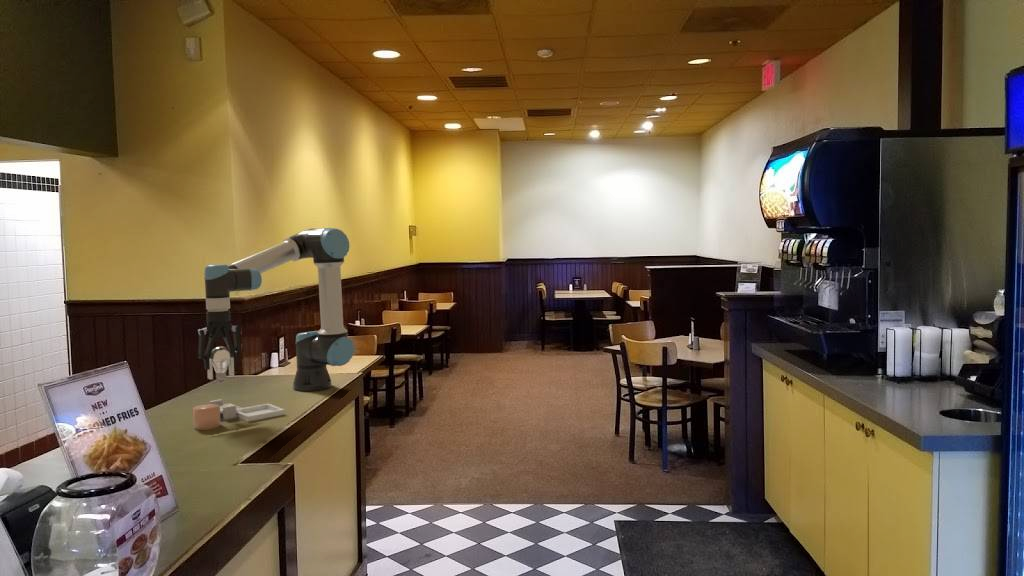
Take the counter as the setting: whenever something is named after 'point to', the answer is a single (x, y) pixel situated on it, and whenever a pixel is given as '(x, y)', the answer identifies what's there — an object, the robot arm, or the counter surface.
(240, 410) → the plate
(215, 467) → the counter surface
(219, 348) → the light bulb
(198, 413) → the peach rounded pebble
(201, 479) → the counter surface
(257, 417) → the tray
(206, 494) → the counter surface
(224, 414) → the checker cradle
